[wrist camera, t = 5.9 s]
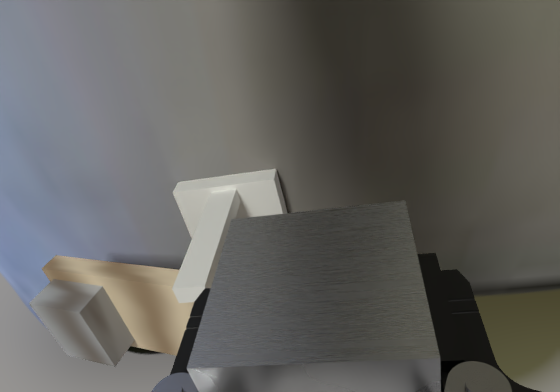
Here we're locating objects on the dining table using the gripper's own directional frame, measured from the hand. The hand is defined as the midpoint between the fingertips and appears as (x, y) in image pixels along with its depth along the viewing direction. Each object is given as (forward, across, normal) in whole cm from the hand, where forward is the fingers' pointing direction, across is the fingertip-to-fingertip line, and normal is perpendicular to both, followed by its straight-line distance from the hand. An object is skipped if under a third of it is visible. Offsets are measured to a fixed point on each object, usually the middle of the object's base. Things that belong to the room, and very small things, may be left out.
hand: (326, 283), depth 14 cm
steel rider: (0, 0, 0) cm, 0 cm away
